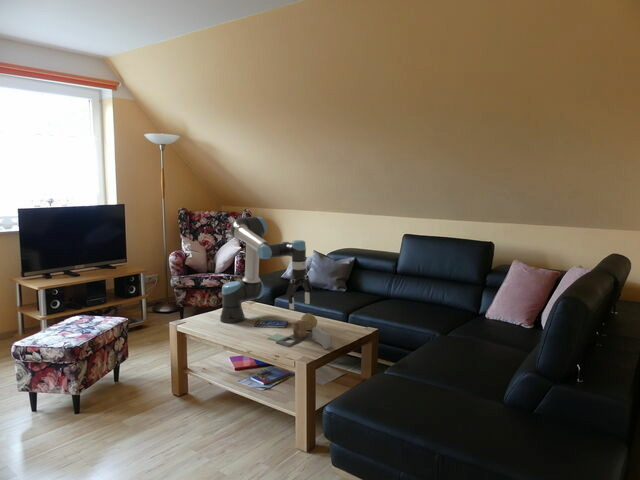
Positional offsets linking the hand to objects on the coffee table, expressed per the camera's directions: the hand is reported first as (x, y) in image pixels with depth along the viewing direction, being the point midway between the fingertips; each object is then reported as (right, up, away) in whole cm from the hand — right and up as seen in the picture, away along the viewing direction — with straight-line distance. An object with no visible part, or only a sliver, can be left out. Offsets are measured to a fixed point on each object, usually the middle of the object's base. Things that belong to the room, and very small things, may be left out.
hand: (299, 306), depth 268 cm
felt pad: (-12, -18, +2) cm, 22 cm away
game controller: (+12, -20, -9) cm, 25 cm away
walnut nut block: (0, -18, +3) cm, 18 cm away
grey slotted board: (-2, -18, -1) cm, 18 cm away
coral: (+5, -16, +16) cm, 23 cm away
